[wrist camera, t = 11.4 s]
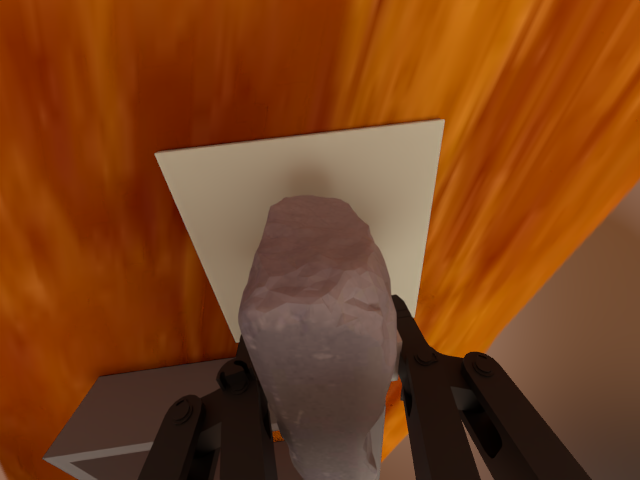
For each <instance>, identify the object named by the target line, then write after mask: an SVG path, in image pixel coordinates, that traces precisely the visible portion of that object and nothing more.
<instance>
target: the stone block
mask: <svg viewBox="0 0 640 480" xmlns="http://www.w3.org/2000/svg"><path fill="white" fill-rule="evenodd" d="M238 324H239V327H240V331H241V334H242V337H243V339H244V342H245V345H246V347H247V350H248V353H249V355H250V358H251V361H252V364H253V366H254V368H255V371H256V373H257V376H258V378H259V381H260V383H261V386H262V388H263V391H264V393H265V396H266V398H267V401H268V404H269V406H270V408H271V410H272V412H273V413H274V415H275V416H276V420H277V424H278V428H279V431H280V433H281V436H282V438H283V439H284V440H285V441H286V442H287V444H288V447H289V455H290V458H291V461H292V464H293V466H294V467H295V468H296V470H297V471H298V472H299V474H300V475H301V476H302V478H303V479H304V480H375V478H376V476H377V467H376V463H375V459H374V456H373V451H372V441H371V435H370V430H371V428H372V427H373V426H374V425H375V423H376V422H377V421H378V419H379V418H380V416H381V415H382V413H383V412H384V405H385V396H386V394H387V391H388V389H389V386H390V383H391V379H392V376H393V372H394V368H395V363H396V358H397V314H396V309H395V306H394V303H393V300H392V297H391V282H390V276H389V273H388V270H387V266H386V263H385V260H384V258H383V256H382V253H381V251H380V249H379V247H378V246H377V245H376V244H375V243H374V239H373V237H372V236H371V234H370V228H369V225H368V224H366V223H365V222H364V221H363V220H362V219H360V218H359V217H358V215H357V213H356V212H354V211H353V210H352V208H351V206H350V205H349V204H348V203H346V202H344V201H342V200H341V199H337V198H325V197H318V196H313V195H300V196H293V197H285V198H283V199H282V200H281V201H279V202H278V203H276V204H274V205H272V206H270V209H269V212H268V217H267V222H266V225H265V228H264V232H263V236H262V239H261V242H260V244H259V247H258V249H257V250H256V253H255V255H254V259H253V264H252V267H251V270H250V273H249V278H248V282H247V285H246V287H245V289H244V291H243V294H242V299H241V303H240V308H239V313H238Z"/></svg>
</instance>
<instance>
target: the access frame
mask: <svg viewBox="0 0 640 480" xmlns="http://www.w3.org/2000/svg"><path fill="white" fill-rule="evenodd" d="M234 358H236V357H234ZM231 359H233V358H227V359H220V360H213V361H206V362H199V363H192V364H185V365H178V366H171V367H164V368H157V369H150V370H143V371H136V372H129V373H122V374H115V375H108V376H101V377H99V378H98V379H97V381H96V382H95V384H94V385H93V386H92V388H91V389H90V391H89V392H88V394H87V395H86V397H85V398H84V399H83V401H82V402H81V404H80V405H79V407H78V408H77V409H76V411H75V412H74V414H73V415H72V417H71V418H70V419H69V421H68V422H67V424H66V425H65V427H64V428H63V429H62V431H61V432H60V434H59V435H58V437H57V438H56V439H55V441H54V442H53V444H52V445H51V447H50V448H49V449H48V451H47V452H46V454H45V455H44V457H43V458H42V459H43V460H45V461H47V462H49V463H51V464H52V465H54V466H56V467H58V468H59V469H61V470H63V471H65V472H66V473H68V474H70V475H72V476H73V477H75V478H77V479H79V480H137V479H138V477H139V475H140V472H141V470H142V468H143V465H144V463H145V461H146V458H147V456H148V454H149V451H150V449H151V447H152V444H153V442H154V440H155V437H156V435H157V433H158V430H159V428H160V426H161V423H162V421H163V419H164V416H165V414H166V413H167V411H168V409H169V408H170V407H171V406H172V405H173V404H174V402H175V401H177V400H178V399H180V398H181V397H183V396H186V395H196V396H198V397H199V398H201V397H203V396H205V395H207V394H210V393H212V392H214V391H216V390H217V389H219V388H220V386H219V384H218V383H217V381H216V377H217V373H218V372H219V370H220V368H221V367H222V366H223V365H224V364H225V363H226V362H227V361H229V360H231ZM268 408H269V411H270V419H271V427H272V431H278V430H279V428H278V424H277V420H276V416H275V415H274V413H273V412H272V410H271V408H270V406H269V404H268ZM385 408H386V406H385V405H384V412H383V413H382V415H381V416H380V418H379V419H378V421H377V422H376V423H375V425H374V426H373V427H372V428H371V430H370V435H371V441H372V451H373V456H374V459H375V463H376V467H377V476H376V478H375V480H379V476H380V464H381V453H382V442H383V430H384V419H385ZM273 443H274V451H275V459H276V468H277V476H278V480H304V479H303V478H302V476H301V475H300V474H299V472H298V471H297V470H296V468H295V467H294V466H293V464H292V461H291V458H290V455H289V447H288V444H287V442H286V441H280V442H273ZM213 480H220V453H219V458H218V462H217V466H216V471H215V475H214V479H213Z"/></svg>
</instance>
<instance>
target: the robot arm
mask: <svg viewBox="0 0 640 480" xmlns="http://www.w3.org/2000/svg"><path fill="white" fill-rule="evenodd" d="M391 297H392V300H393V303H394V306H395V309H396V314H397V358H396V363H395V368H394V372H393V376H392V379H391V381H396V380H398V374H399V376H400V379H401V381H402V391H401V400H403V401H404V407H405V413H406V419H407V426H408V432H409V438H410V444H411V451H412V456H413V463H414V469H415V476H416V480H481V479H480V476H479V473H478V470H477V467H476V464H475V461H474V457H473V454H472V451H471V448H470V445H469V442H468V439H467V436H466V433H465V430H464V427H463V424H462V422H463V423H464V425H465V427H466V429H467V431H468V432H469V434H470V436H471V438H472V440H473V442H474V444H475V445H476V447H477V449H478V450H479V453H480V455H481V456H482V458H483V460H484V462H485V464H486V466H487V467H488V469H489V471H490V473H491V475H492V477H493V478H494V480H592V479H591V478H590V477H589V476H588V475H587V473H586V472H585V471H584V469H583V468H582V467H581V466H580V464H579V463H578V462H577V461H576V459H575V458H574V457H573V456H572V454H571V453H570V452H569V451H568V449H567V448H566V447H565V446H564V444H563V443H562V442H561V441H560V440H559V438H558V437H557V436H556V434H555V433H554V432H553V431H552V429H551V428H550V427H549V426H548V425H547V423H546V422H545V421H544V420H543V418H542V417H541V416H540V415H539V413H538V412H537V411H536V410H535V409H534V407H533V406H532V405H531V403H530V402H529V401H528V400H527V398H526V397H525V396H524V395H523V393H522V392H521V391H520V390H519V388H518V387H517V386H516V385H515V383H514V382H513V381H512V380H511V378H510V377H509V376H508V375H507V373H506V372H505V371H504V370H503V368H502V367H501V366H500V365H499V364H498V363H497V362H496V361H495V360H494V359H493V358H491V357H490V356H487V355H486V354H484V353H480V352H470V353H468V354H466V355H465V357H464V358H459V357H453V356H447V355H443V354H441V353H439V352H437V351H436V350H435V349H433V348H432V347H430V346H429V345H428V343H427V342H426V341H425V339H424V337H423V335H422V333H421V331H420V330H419V328H418V326H417V324H416V322H415V320H414V319H413V317H412V315H411V313H410V311H409V310H408V307H407V306H406V304H405V302H404V300H402V299H401V298H400V297H399V296H398V295H396V294H395V295H391ZM239 341H240V342H239V345H238V349H237V354H236V358H233V359H231V360H229V361H227V362H226V363H225V364H224V365H223V366H222V367H221V368H220V370H219V372H218V373H217V377H216V381H217V383H218V384H219V386H220V388H219V389H217V390H216V391H214V392H212V393H210V394H207V395H205V396H203V397H201V398H199V397H198V396H196V395H186V396H183V397H181V398H180V399H178V400H177V401H175V402H174V404H173V405H172V406H171V407H170V408H169V409H168V411H167V413H166V414H165V416H164V419H163V421H162V423H161V426H160V428H159V430H158V433H157V435H156V437H155V440H154V442H153V444H152V447H151V449H150V451H149V454H148V456H147V458H146V461H145V463H144V465H143V468H142V470H141V472H140V475H139V477H138V479H137V480H213V479H214V475H215V471H216V466H217V462H218V458H219V453H220V480H278V476H277V468H276V459H275V451H274V443H273V435H272V427H271V419H270V411H269V408H268V401H267V398H266V396H265V393H264V391H263V388H262V386H261V383H260V381H259V378H258V376H257V373H256V371H255V368H254V366H253V364H252V361H251V358H250V355H249V353H248V350H247V347H246V345H245V342H244V339H243V337H242V334H241V336H240V340H239ZM461 420H462V421H461ZM220 449H221V451H220Z"/></svg>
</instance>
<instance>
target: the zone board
mask: <svg viewBox="0 0 640 480" xmlns="http://www.w3.org/2000/svg"><path fill="white" fill-rule="evenodd" d="M444 122H445V120H444V119H434V120H425V121H416V122H408V123H399V124H391V125H382V126H373V127H365V128H356V129H347V130H339V131H330V132H322V133H313V134H304V135H296V136H287V137H279V138H270V139H261V140H253V141H244V142H236V143H227V144H218V145H210V146H201V147H192V148H184V149H175V150H167V151H159V152H157V153H154V154H155V157H156V159H157V161H158V164H159V166H160V168H161V170H162V173H163V175H164V177H165V180H166V182H167V184H168V187H169V189H170V191H171V194H172V196H173V198H174V201H175V203H176V205H177V208H178V210H179V212H180V215H181V217H182V219H183V222H184V224H185V226H186V228H187V231H188V233H189V235H190V238H191V240H192V242H193V245H194V247H195V249H196V252H197V254H198V256H199V259H200V261H201V263H202V266H203V268H204V270H205V273H206V275H207V277H208V279H209V282H210V284H211V286H212V289H213V291H214V293H215V296H216V298H217V300H218V303H219V305H220V307H221V310H222V312H223V314H224V317H225V319H226V321H227V324H228V326H229V328H230V331H231V333H232V335H233V337H234V340H235V342H236V343H238V342H240V341H239V340H240V336H241V331H240V327H239V324H238V313H239V308H240V303H241V299H242V294H243V291H244V289H245V287H246V285H247V282H248V278H249V273H250V270H251V267H252V264H253V259H254V255H255V253H256V250H257V249H258V247H259V244H260V242H261V239H262V236H263V232H264V228H265V225H266V222H267V217H268V212H269V209H270V206H272V205H274V204H276V203H278V202H279V201H281V200H282V199H283V198H285V197H293V196H300V195H313V196H318V197H325V198H337V199H341V200H342V201H344V202H346V203H348V204H349V205H350V206H351V208H352V210H353V211H354V212H356V213H357V215H358V217H359V218H360V219H362V220H363V221H364V222H365V223H366V224H368V225H369V228H370V234H371V236H372V237H373V239H374V243H375V244H376V245H377V246H378V247H379V249H380V251H381V253H382V256H383V258H384V260H385V263H386V266H387V270H388V273H389V276H390V282H391V295H395V294H396V295H398V296H399V297H400V298H401V299H402V300H404V302H405V304H406V306H407V307H408V310H409V311H410V313H411V315H412V317H413V318H415V311H416V305H417V298H418V292H419V285H420V279H421V272H422V266H423V259H424V253H425V246H426V240H427V233H428V227H429V220H430V214H431V207H432V201H433V194H434V188H435V181H436V175H437V168H438V162H439V155H440V149H441V142H442V136H443V129H444Z"/></svg>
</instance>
